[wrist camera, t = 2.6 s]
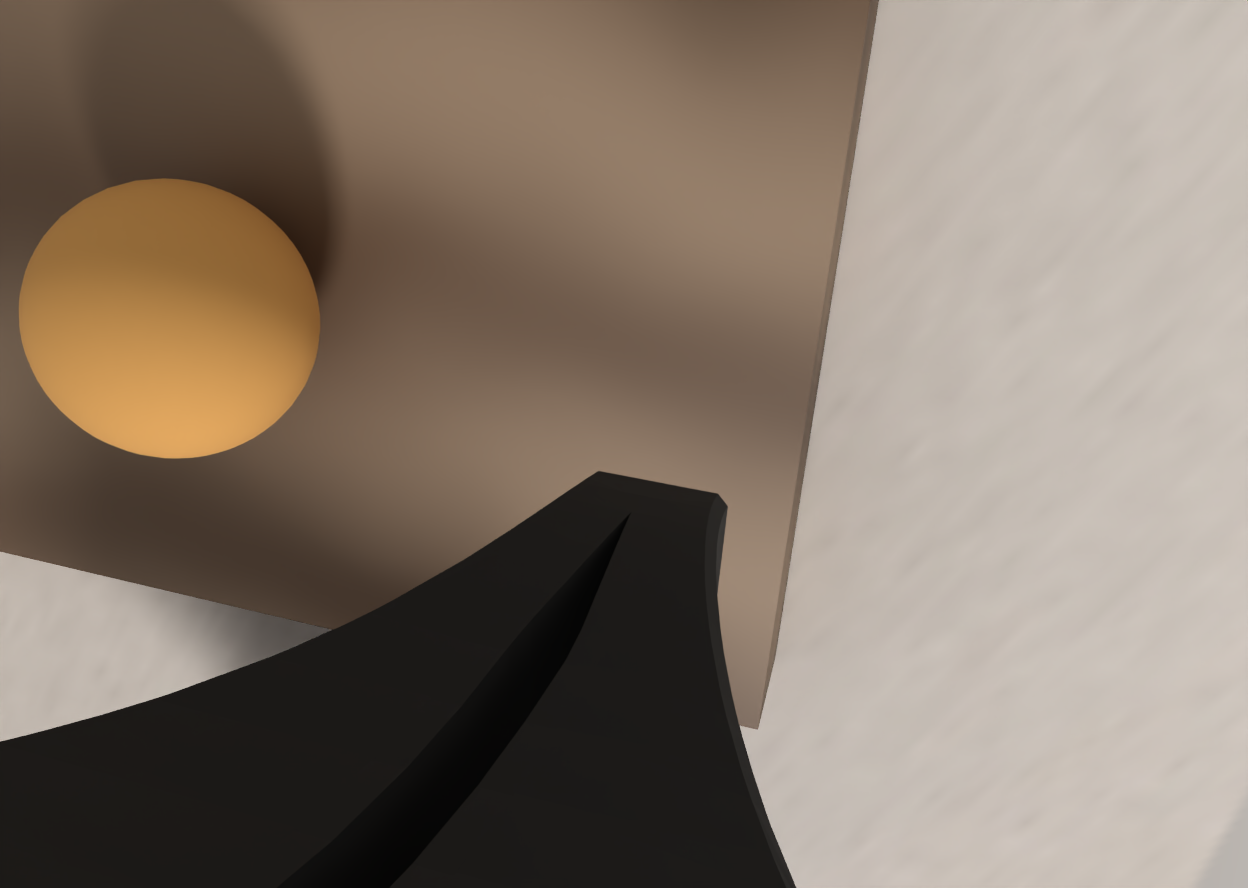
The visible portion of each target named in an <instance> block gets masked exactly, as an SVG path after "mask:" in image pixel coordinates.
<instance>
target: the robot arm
mask: <svg viewBox="0 0 1248 888" xmlns="http://www.w3.org/2000/svg"><path fill="white" fill-rule="evenodd" d="M727 510H728V506H727V504H726V503H725V502H724V501H723V499H722V498H721V497H720V495H719V494H718V493H712V492H707V491H702V490H697V489H691V488H686V487H681V486H676V485H670V484H665V483H660V482H655V481H649V480H644V479H639V478H634V477H628V476H623V475H618V474H613V473H608V472H602V471H597V472H596V473H594V474H593V475H591V476H590V477H588V478H586V479H585V480H583V481H582V482H580V483H579V484H577V485H576V486H574V487H573V488H571V489H570V490H568V491H567V492H565V493H564V494H562V495H561V496H559V497H558V498H557V499H555V500H554V501H552V502H551V503H549V504H548V505H546V506H545V507H543V508H542V509H540V510H539V511H537V512H536V513H534V514H533V515H531V516H530V517H529V518H527V519H526V520H524V521H523V522H521V523H520V524H518V525H517V526H515V527H514V528H512V529H511V530H509V531H508V532H506V533H505V534H503V535H501V536H500V537H498V538H497V539H495V540H494V541H492V542H491V543H489V544H487V545H486V546H484V547H483V548H481V549H480V550H478V551H476V552H475V553H473V554H472V555H470V556H469V557H467V558H466V559H464V560H462V561H460V562H459V563H457V564H455V565H453V566H452V567H450V568H448V569H446V570H445V571H443V572H441V573H439V574H438V575H436V576H434V577H432V578H431V579H429V580H427V581H425V582H424V583H422V584H420V585H418V586H417V587H415V588H413V589H411V590H410V591H408V592H406V593H404V594H403V595H401V596H399V597H397V598H396V599H394V600H392V601H390V602H389V603H387V604H385V605H383V606H381V607H379V608H377V609H375V610H373V611H371V612H369V613H367V614H365V615H363V616H361V617H359V618H357V619H355V620H353V621H351V622H349V623H347V624H345V625H343V626H340V627H338V628H336V629H334V630H331V631H329V632H327V633H325V634H322V635H320V636H318V637H316V638H314V639H311V640H309V641H307V642H305V643H302V644H300V645H298V646H296V647H293V648H291V649H289V650H286V651H284V652H281V653H279V654H277V655H274V656H272V657H269V658H266V659H264V660H261V661H258V662H256V663H253V664H250V665H247V666H245V667H242V668H239V669H237V670H234V671H231V672H228V673H226V674H223V675H220V676H217V677H215V678H212V679H209V680H207V681H204V682H201V683H198V684H196V685H193V686H190V687H188V688H185V689H182V690H179V691H177V692H174V693H171V694H168V695H165V696H162V697H159V698H156V699H153V700H149V701H146V702H143V703H139V704H136V705H133V706H130V707H126V708H123V709H120V710H116V711H113V712H110V713H107V714H103V715H100V716H96V717H93V718H89V719H85V720H82V721H78V722H74V723H71V724H67V725H63V726H60V727H56V728H52V729H49V730H45V731H41V732H38V733H34V734H30V735H26V736H22V737H18V738H14V739H10V740H5V741H1V742H0V888H796V886H795V884H794V881H793V879H792V877H791V874H790V872H789V869H788V867H787V864H786V862H785V859H784V857H783V855H782V852H781V850H780V847H779V845H778V842H777V840H776V837H775V835H774V833H773V830H772V828H771V825H770V823H769V820H768V817H767V814H766V811H765V808H764V805H763V802H762V799H761V796H760V793H759V790H758V787H757V784H756V781H755V778H754V775H753V772H752V769H751V765H750V762H749V758H748V755H747V751H746V748H745V744H744V741H743V738H742V734H741V730H740V726H739V722H738V718H737V714H736V710H735V706H734V701H733V697H732V692H731V687H730V682H729V677H728V672H727V666H726V661H725V656H724V649H723V642H722V636H721V628H720V617H719V607H718V597H717V594H718V586H719V577H720V569H721V560H722V552H723V544H724V535H725V527H726V518H727Z"/></svg>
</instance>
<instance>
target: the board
mask: <svg viewBox="0 0 1248 888" xmlns="http://www.w3.org/2000/svg"><path fill="white" fill-rule="evenodd" d="M878 2H879V0H0V551H1V552H5V553H9V554H13V555H18V556H22V557H26V558H30V559H35V560H39V561H43V562H47V563H52V564H56V565H60V566H64V567H69V568H73V569H77V570H81V571H86V572H90V573H94V574H98V575H103V576H107V577H111V578H115V579H120V580H124V581H128V582H132V583H137V584H141V585H145V586H149V587H154V588H158V589H162V590H166V591H171V592H175V593H179V594H183V595H188V596H192V597H196V598H200V599H205V600H209V601H213V602H217V603H222V604H226V605H230V606H234V607H239V608H243V609H247V610H251V611H256V612H260V613H264V614H268V615H273V616H277V617H281V618H285V619H290V620H294V621H298V622H302V623H307V624H311V625H315V626H320V627H324V628H328V629H332V630H334V629H336V628H338V627H340V626H343V625H345V624H347V623H349V622H351V621H353V620H355V619H357V618H359V617H361V616H363V615H365V614H367V613H369V612H371V611H373V610H375V609H377V608H379V607H381V606H383V605H385V604H387V603H389V602H390V601H392V600H394V599H396V598H397V597H399V596H401V595H403V594H404V593H406V592H408V591H410V590H411V589H413V588H415V587H417V586H418V585H420V584H422V583H424V582H425V581H427V580H429V579H431V578H432V577H434V576H436V575H438V574H439V573H441V572H443V571H445V570H446V569H448V568H450V567H452V566H453V565H455V564H457V563H459V562H460V561H462V560H464V559H466V558H467V557H469V556H470V555H472V554H473V553H475V552H476V551H478V550H480V549H481V548H483V547H484V546H486V545H487V544H489V543H491V542H492V541H494V540H495V539H497V538H498V537H500V536H501V535H503V534H505V533H506V532H508V531H509V530H511V529H512V528H514V527H515V526H517V525H518V524H520V523H521V522H523V521H524V520H526V519H527V518H529V517H530V516H531V515H533V514H534V513H536V512H537V511H539V510H540V509H542V508H543V507H545V506H546V505H548V504H549V503H551V502H552V501H554V500H555V499H557V498H558V497H559V496H561V495H562V494H564V493H565V492H567V491H568V490H570V489H571V488H573V487H574V486H576V485H577V484H579V483H580V482H582V481H583V480H585V479H586V478H588V477H590V476H591V475H593V474H594V473H596V472H597V471H602V472H608V473H613V474H618V475H623V476H628V477H634V478H639V479H644V480H649V481H655V482H660V483H665V484H670V485H676V486H681V487H686V488H691V489H697V490H702V491H707V492H712V493H718V494H719V495H720V497H721V498H722V499H723V501H724V502H725V503H726V504H727V506H728V510H727V518H726V527H725V535H724V544H723V552H722V560H721V569H720V577H719V586H718V594H717V597H718V607H719V617H720V628H721V636H722V642H723V649H724V656H725V661H726V666H727V672H728V677H729V682H730V687H731V692H732V697H733V701H734V706H735V710H736V714H737V718H738V722H739V725H741V726H745V727H749V728H753V729H758V727H759V723H760V719H761V714H762V710H763V706H764V702H765V698H766V693H767V689H768V685H769V681H770V677H771V673H772V668H773V664H774V660H775V655H776V648H777V642H778V636H779V629H780V623H781V617H782V610H783V604H784V598H785V591H786V585H787V579H788V572H789V566H790V560H791V553H792V547H793V541H794V534H795V528H796V522H797V515H798V509H799V503H800V496H801V490H802V484H803V477H804V471H805V465H806V458H807V452H808V446H809V439H810V433H811V427H812V420H813V414H814V408H815V401H816V395H817V389H818V382H819V376H820V370H821V363H822V357H823V351H824V344H825V338H826V332H827V325H828V319H829V313H830V306H831V300H832V294H833V287H834V281H835V275H836V268H837V262H838V256H839V249H840V243H841V237H842V230H843V224H844V218H845V211H846V205H847V199H848V192H849V186H850V180H851V173H852V167H853V160H854V154H855V148H856V141H857V135H858V129H859V122H860V116H861V110H862V103H863V97H864V91H865V84H866V78H867V72H868V65H869V59H870V53H871V46H872V40H873V34H874V27H875V21H876V15H877V8H878ZM162 178H166V179H180V180H187V181H193V182H198V183H203V184H207V185H210V186H213V187H215V188H218V189H221V190H224V191H226V192H229V193H231V194H233V195H235V196H237V197H239V198H241V199H243V200H245V201H247V202H248V203H250V204H251V205H253V206H254V207H256V208H257V209H259V210H260V211H261V212H262V213H264V214H265V215H266V216H267V217H269V218H270V219H271V220H272V221H273V222H274V223H275V224H276V225H277V226H278V227H279V228H280V229H281V230H282V231H283V232H284V233H285V234H286V235H287V236H288V238H289V239H290V240H291V241H292V243H293V244H294V245H295V247H296V248H297V250H298V252H299V253H300V255H301V256H302V258H303V260H304V262H305V264H306V266H307V268H308V270H309V273H310V275H311V278H312V280H313V283H314V287H315V291H316V294H317V299H318V305H319V311H320V335H319V344H318V351H317V355H316V359H315V363H314V366H313V368H312V371H311V373H310V375H309V378H308V380H307V382H306V385H305V386H304V388H303V389H302V391H301V392H300V394H299V396H298V397H297V399H296V400H295V402H294V403H293V404H292V406H291V407H290V408H289V409H288V410H287V411H286V412H285V413H284V414H283V415H282V416H281V417H280V418H279V419H278V420H277V421H276V422H275V423H274V424H273V425H272V426H270V427H269V428H268V429H266V430H265V431H264V432H262V433H261V434H259V435H258V436H256V437H255V438H253V439H251V440H249V441H247V442H245V443H243V444H241V445H239V446H236V447H234V448H231V449H229V450H226V451H222V452H219V453H215V454H211V455H207V456H201V457H194V458H160V457H153V456H146V455H140V454H136V453H132V452H129V451H126V450H123V449H120V448H118V447H115V446H113V445H110V444H108V443H105V442H103V441H101V440H99V439H97V438H96V437H94V436H92V435H91V434H89V433H88V432H86V431H84V430H83V429H82V428H80V427H79V426H78V425H76V424H75V423H74V422H73V421H71V420H70V419H69V418H68V417H67V416H66V415H65V414H64V413H62V412H61V411H60V410H59V409H58V407H57V406H56V405H55V404H54V403H53V402H52V401H51V400H50V398H49V397H48V396H47V394H46V393H45V392H44V390H43V389H42V387H41V386H40V384H39V382H38V381H37V379H36V377H35V375H34V373H33V371H32V369H31V367H30V364H29V362H28V359H27V357H26V354H25V351H24V348H23V344H22V340H21V334H20V327H19V297H20V291H21V287H22V282H23V278H24V274H25V271H26V268H27V266H28V263H29V261H30V258H31V257H32V255H33V253H34V251H35V249H36V247H37V246H38V244H39V242H40V241H41V239H42V238H43V236H44V235H45V234H46V233H47V232H48V230H49V229H50V228H51V227H52V226H53V225H54V224H55V222H56V221H57V220H58V219H59V218H60V217H61V216H62V215H64V214H65V213H66V212H68V211H69V210H70V209H71V208H73V207H74V206H76V205H77V204H78V203H80V202H81V201H83V200H84V199H86V198H88V197H90V196H92V195H94V194H96V193H99V192H101V191H103V190H105V189H107V188H110V187H114V186H117V185H121V184H125V183H129V182H132V181H137V180H148V179H162Z"/></svg>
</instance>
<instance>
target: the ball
mask: <svg viewBox="0 0 1248 888" xmlns="http://www.w3.org/2000/svg"><path fill="white" fill-rule="evenodd" d="M19 327H20V334H21V340H22V344H23V348H24V351H25V354H26V357H27V359H28V362H29V364H30V367H31V369H32V371H33V373H34V375H35V377H36V379H37V381H38V382H39V384H40V386H41V387H42V389H43V390H44V392H45V393H46V394H47V396H48V397H49V398H50V400H51V401H52V402H53V403H54V404H55V405H56V406H57V407H58V409H59V410H60V411H61V412H62V413H64V414H65V415H66V416H67V417H68V418H69V419H70V420H71V421H73V422H74V423H75V424H76V425H78V426H79V427H80V428H82V429H83V430H84V431H86V432H88V433H89V434H91V435H92V436H94V437H96V438H97V439H99V440H101V441H103V442H105V443H108V444H110V445H113V446H115V447H118V448H120V449H123V450H126V451H129V452H132V453H136V454H140V455H146V456H153V457H160V458H194V457H201V456H207V455H211V454H215V453H219V452H222V451H226V450H229V449H231V448H234V447H236V446H239V445H241V444H243V443H245V442H247V441H249V440H251V439H253V438H255V437H256V436H258V435H259V434H261V433H262V432H264V431H265V430H266V429H268V428H269V427H270V426H272V425H273V424H274V423H275V422H276V421H277V420H278V419H279V418H280V417H281V416H282V415H283V414H284V413H285V412H286V411H287V410H288V409H289V408H290V407H291V406H292V404H293V403H294V402H295V400H296V399H297V397H298V396H299V394H300V392H301V391H302V389H303V388H304V386H305V385H306V382H307V380H308V378H309V375H310V373H311V371H312V368H313V366H314V363H315V359H316V355H317V351H318V344H319V335H320V311H319V305H318V299H317V294H316V291H315V287H314V283H313V280H312V278H311V275H310V273H309V270H308V268H307V266H306V264H305V262H304V260H303V258H302V256H301V255H300V253H299V252H298V250H297V248H296V247H295V245H294V244H293V243H292V241H291V240H290V239H289V238H288V236H287V235H286V234H285V233H284V232H283V231H282V230H281V229H280V228H279V227H278V226H277V225H276V224H275V223H274V222H273V221H272V220H271V219H270V218H269V217H267V216H266V215H265V214H264V213H262V212H261V211H260V210H259V209H257V208H256V207H254V206H253V205H251V204H250V203H248V202H247V201H245V200H243V199H241V198H239V197H237V196H235V195H233V194H231V193H229V192H226V191H224V190H221V189H218V188H215V187H213V186H210V185H207V184H203V183H198V182H193V181H187V180H180V179H166V178H162V179H148V180H137V181H132V182H129V183H125V184H121V185H117V186H114V187H110V188H107V189H105V190H103V191H101V192H99V193H96V194H94V195H92V196H90V197H88V198H86V199H84V200H83V201H81V202H80V203H78V204H77V205H76V206H74V207H73V208H71V209H70V210H69V211H68V212H66V213H65V214H64V215H62V216H61V217H60V218H59V219H58V220H57V221H56V222H55V224H54V225H53V226H52V227H51V228H50V229H49V230H48V232H47V233H46V234H45V235H44V236H43V238H42V239H41V241H40V242H39V244H38V246H37V247H36V249H35V251H34V253H33V255H32V257H31V258H30V261H29V263H28V266H27V268H26V271H25V274H24V278H23V282H22V287H21V291H20V297H19Z"/></svg>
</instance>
